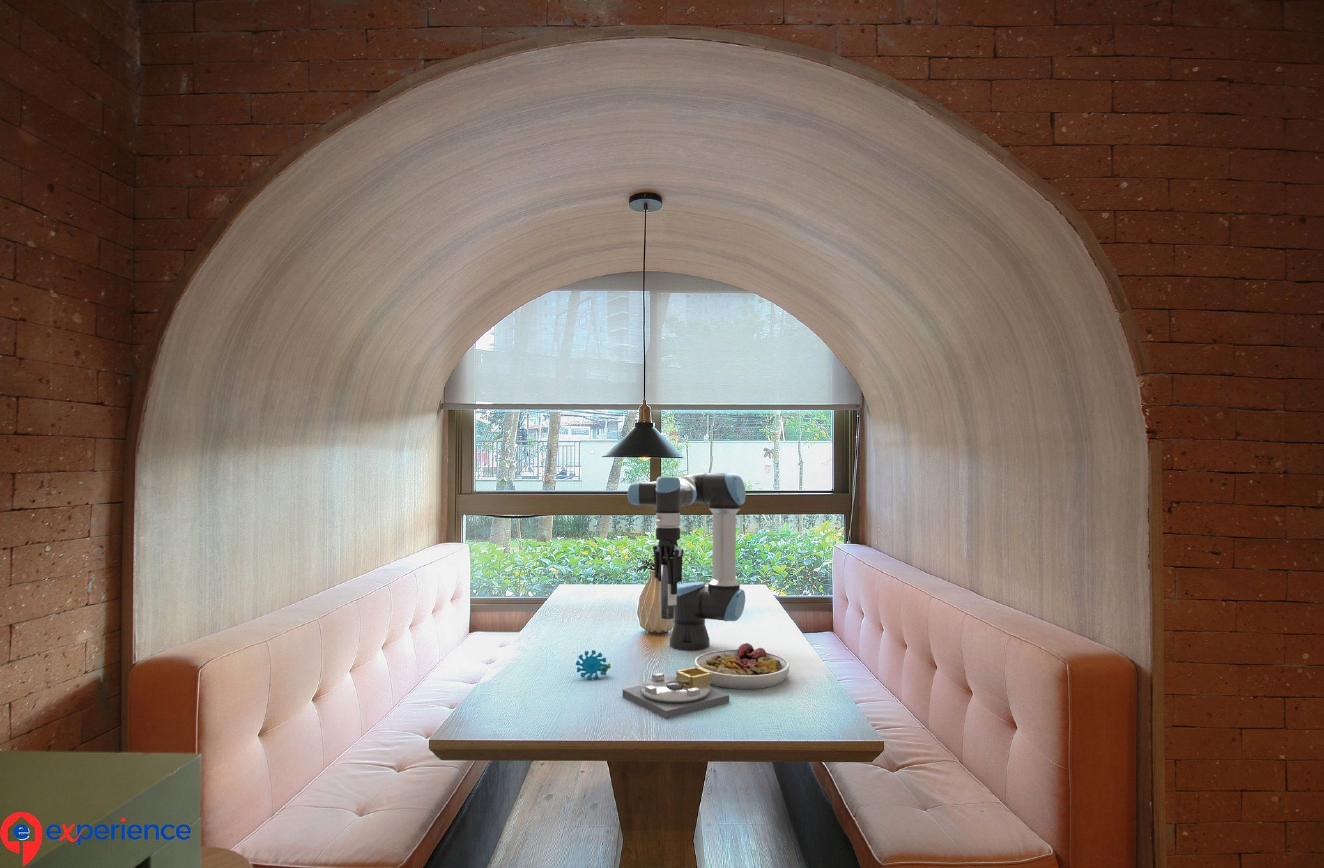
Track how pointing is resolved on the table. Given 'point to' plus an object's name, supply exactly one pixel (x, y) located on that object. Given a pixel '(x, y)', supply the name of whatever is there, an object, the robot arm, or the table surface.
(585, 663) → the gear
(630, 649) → the table surface
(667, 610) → the pin
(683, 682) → the silver disc with box
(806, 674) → the table surface
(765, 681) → the bowl
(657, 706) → the nut plate
